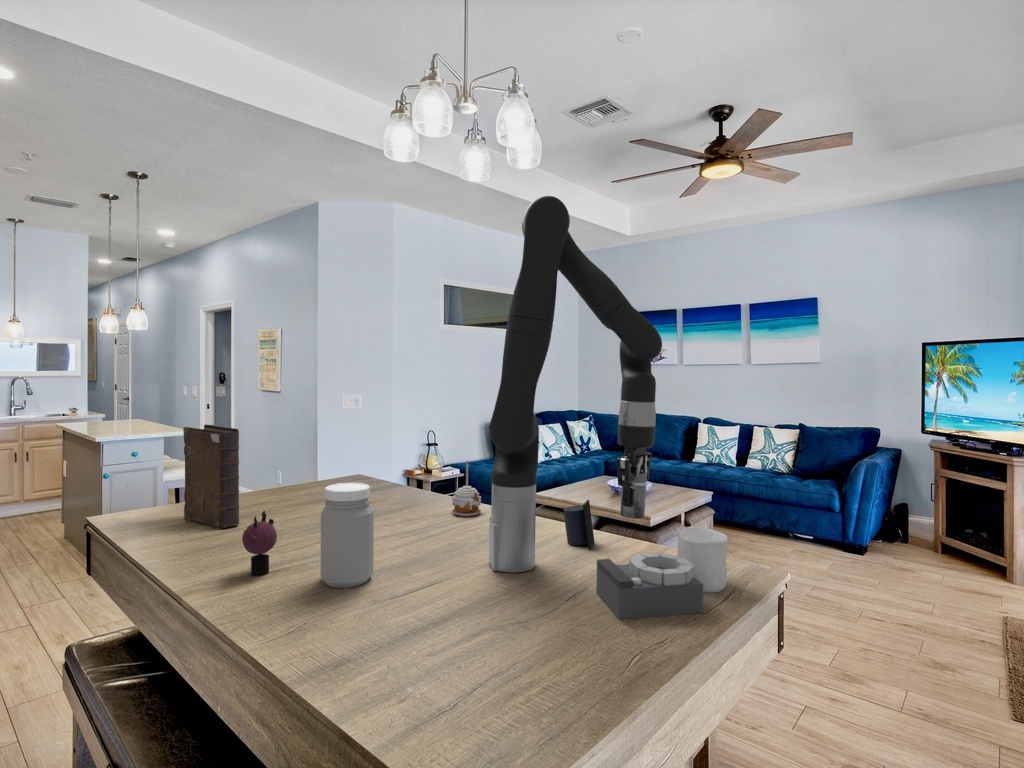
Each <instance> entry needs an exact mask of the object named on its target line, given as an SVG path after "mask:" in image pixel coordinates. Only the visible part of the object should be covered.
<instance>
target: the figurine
mask: <svg viewBox="0 0 1024 768" xmlns="http://www.w3.org/2000/svg"><path fill="white" fill-rule="evenodd" d="M267 516H268V514H267V513H266V510H263V511H262V512H261V520H260V521H258V519H257V516H254V518H253V523H251V524H250V525H248V526H247V527H244V528H243V529H242V530H243V534H242V539H241V540H242V545H243V547H244V549H245V550H246V552H248V553H249V554H253V555H252V556H251V558H250V575H251V576H253V577H262V576H266V575H268V574H269V573H270V556H269V554H266V553H268V552H270V550H272V549H273V548H274V547H275V545H276V543H277V539H278V534H277V530H276V529H275V527H274V523H275V522H274V521H275V520H274V519H272V518H269V520H268V522H267V521H266V520H267Z"/></svg>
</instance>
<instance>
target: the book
mask: <svg viewBox="0 0 1024 768" xmlns="http://www.w3.org/2000/svg"><path fill="white" fill-rule="evenodd" d="M182 429H183V431H182V432H183V444H184V447H183V454H184V492H183V495H184V496H183V499H184V506H183V507H184V508H183V520H184V521H186V522H188V523H192V524H193V523H194V524H199V525H203V526H208V527H210V528H212V529H215V530H222V529H225V528H230V527H235V526H237V525H238V526H239V525H240V504H239V503H240V490H239V489H240V487H239V486H240V482H239V481H240V479H239V478H240V475H239V474H240V473H239V471H240V470H239V469H240V468H239V464H240V457H239V455H240V454H239V452H240V445H239V444H240V439H239V438H240V431H239V428H233V427H224V426H217V425H212V424H204V425H203V428H197V427H189V426H184V427H182Z"/></svg>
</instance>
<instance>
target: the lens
mask: <svg viewBox="0 0 1024 768" xmlns="http://www.w3.org/2000/svg"><path fill="white" fill-rule="evenodd" d="M631 473H634V472H631ZM622 478H623V476H622ZM631 479H632V477H631ZM646 479H647V473H644V472H641V471H640V472H639V477H638V478H637V479H636V481H635V487H634V505H633V506H632V507H626V506H623V505H622V496H623V487H621V492H620V513H619V514H620V516H621V517H624V518H628V519H635V520H636V519H644V518H645V514H646V498H647V497H646V496H647V485H648V480H646ZM626 481H627V478H626Z"/></svg>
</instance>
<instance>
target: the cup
mask: <svg viewBox="0 0 1024 768" xmlns="http://www.w3.org/2000/svg"><path fill="white" fill-rule="evenodd" d="M677 537H678V540H677V542H678V543H677V553H676V556H680V557H681V558H685V559H686V560H688V561H689V562H691V563H692V564H694V578H696V579H697V580H698V581H700V582H701V583H703V593H706V594H707V593H710V594H711V593H719V592H723V590H724V589H725V588H726V586H727V583H728V581H727V580H728V565H727V564H728V562H727V550H728V549H727V548H728V545H729V538H728V536H727V535H726V534H724V533H723V532H720V531H717V530H714V529H710V528H706V527H701V526H685V527H681V528H679V529H678V531H677Z"/></svg>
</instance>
